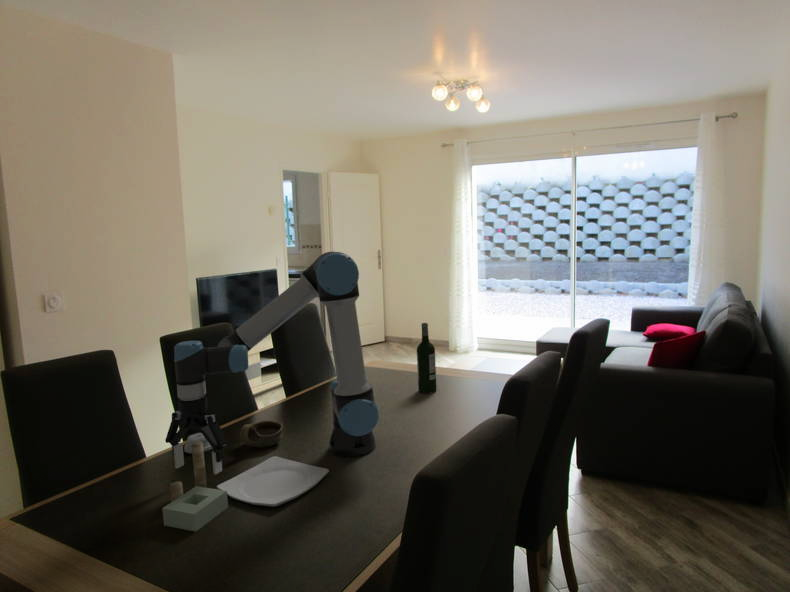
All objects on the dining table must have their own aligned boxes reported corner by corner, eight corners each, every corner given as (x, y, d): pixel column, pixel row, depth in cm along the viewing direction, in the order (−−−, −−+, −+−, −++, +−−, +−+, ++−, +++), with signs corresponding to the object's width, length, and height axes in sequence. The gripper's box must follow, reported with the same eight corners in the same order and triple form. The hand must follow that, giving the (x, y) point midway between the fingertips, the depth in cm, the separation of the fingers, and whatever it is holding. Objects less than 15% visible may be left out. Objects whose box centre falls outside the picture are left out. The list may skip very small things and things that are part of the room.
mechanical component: (178, 453, 178) (205, 454, 176) (176, 441, 177) (204, 442, 175) (195, 442, 188) (220, 443, 186) (193, 430, 187) (219, 430, 185)
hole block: (228, 507, 140) (226, 490, 139) (195, 531, 129) (194, 514, 128) (198, 501, 144) (196, 486, 143) (164, 525, 133) (162, 508, 132)
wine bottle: (437, 393, 229) (434, 324, 226) (418, 393, 229) (415, 325, 226) (436, 387, 237) (433, 321, 234) (418, 388, 237) (415, 322, 234)
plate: (275, 517, 134) (274, 507, 134) (210, 496, 147) (210, 487, 147) (335, 477, 155) (335, 468, 155) (274, 462, 168) (273, 453, 168)
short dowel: (186, 503, 143) (184, 482, 142) (178, 509, 140) (176, 487, 140) (177, 501, 144) (175, 480, 144) (169, 507, 142) (167, 485, 141)
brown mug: (293, 439, 185) (290, 411, 184) (260, 459, 169) (257, 429, 168) (261, 435, 191) (259, 408, 190) (227, 454, 175) (224, 425, 174)
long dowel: (209, 485, 153) (204, 442, 151) (201, 490, 150) (197, 446, 148) (200, 484, 154) (196, 441, 152) (193, 489, 151) (189, 445, 150)
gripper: (237, 395, 148) (243, 469, 150) (167, 389, 157) (174, 458, 159) (219, 404, 141) (225, 480, 143) (147, 397, 150) (154, 469, 152)
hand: (198, 469), depth 151 cm, fingers open, 13 cm apart
